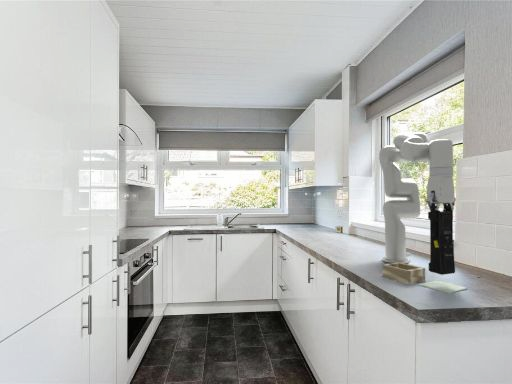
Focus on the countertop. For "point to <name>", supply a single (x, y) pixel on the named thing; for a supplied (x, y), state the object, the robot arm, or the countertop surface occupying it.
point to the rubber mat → (443, 286)
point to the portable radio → (442, 244)
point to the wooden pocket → (403, 273)
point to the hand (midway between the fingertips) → (441, 220)
